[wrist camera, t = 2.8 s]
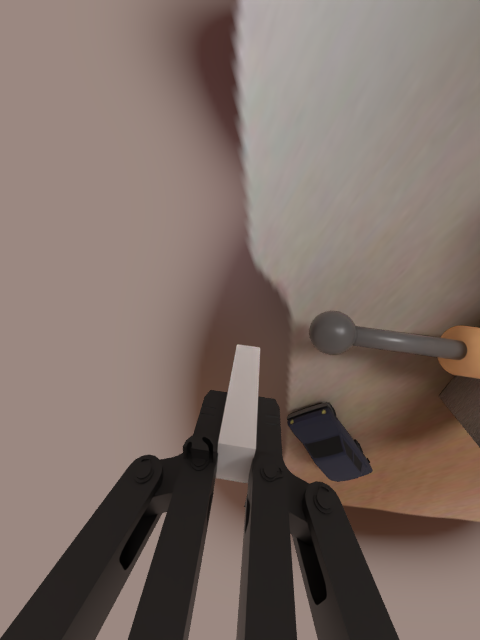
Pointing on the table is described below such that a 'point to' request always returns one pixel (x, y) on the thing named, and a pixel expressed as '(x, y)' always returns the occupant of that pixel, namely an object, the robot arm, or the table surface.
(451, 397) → the housing
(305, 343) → the table surface
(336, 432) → the toy car
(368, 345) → the wood and metal rod
